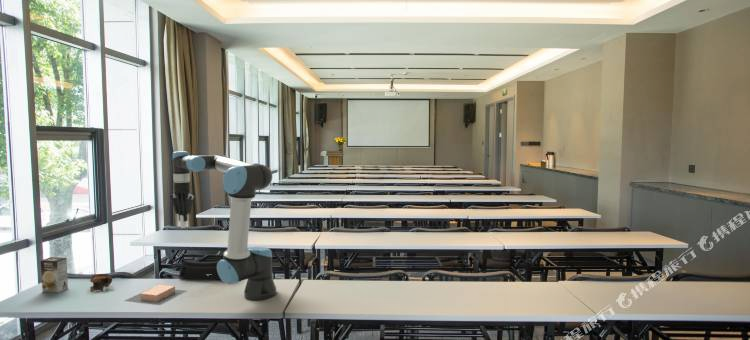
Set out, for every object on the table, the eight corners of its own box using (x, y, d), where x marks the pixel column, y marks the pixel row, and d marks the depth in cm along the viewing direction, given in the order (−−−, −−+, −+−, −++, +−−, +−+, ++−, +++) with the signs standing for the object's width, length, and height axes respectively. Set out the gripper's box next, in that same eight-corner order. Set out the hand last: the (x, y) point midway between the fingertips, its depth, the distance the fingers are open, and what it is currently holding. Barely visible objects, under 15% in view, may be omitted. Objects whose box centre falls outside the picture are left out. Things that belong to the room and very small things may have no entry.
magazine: (173, 263, 226) (226, 247, 224) (176, 261, 229) (228, 246, 227) (183, 293, 227) (236, 277, 225) (186, 290, 230) (238, 275, 229)
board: (159, 290, 209) (175, 292, 206) (140, 299, 197) (156, 301, 195) (159, 284, 208) (174, 286, 206) (140, 293, 197) (156, 295, 194)
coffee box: (41, 292, 208) (39, 260, 207) (52, 287, 215) (50, 256, 213) (58, 292, 207) (56, 261, 206) (69, 288, 214) (67, 257, 212)
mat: (187, 292, 208) (187, 290, 208) (160, 306, 191) (160, 305, 191) (153, 288, 213) (153, 287, 213) (124, 302, 196) (124, 300, 196)
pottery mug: (83, 292, 209) (85, 276, 212) (99, 294, 218) (100, 278, 221) (105, 287, 207) (106, 270, 211) (119, 289, 216) (120, 273, 219)
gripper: (197, 181, 215) (199, 226, 217) (176, 180, 218) (177, 225, 220) (187, 182, 208) (189, 229, 210) (165, 182, 211) (167, 228, 213)
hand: (183, 227), depth 215 cm, fingers closed
